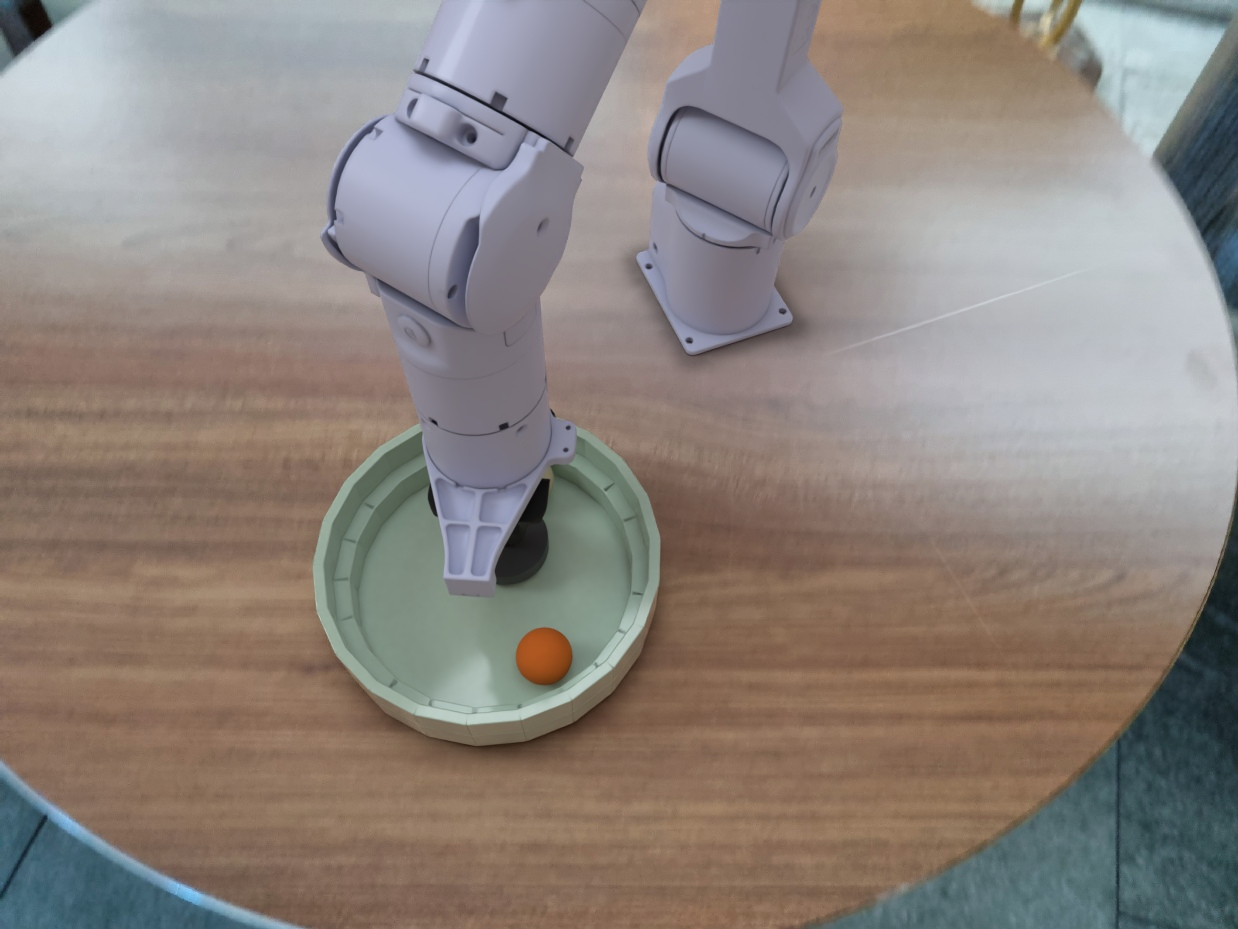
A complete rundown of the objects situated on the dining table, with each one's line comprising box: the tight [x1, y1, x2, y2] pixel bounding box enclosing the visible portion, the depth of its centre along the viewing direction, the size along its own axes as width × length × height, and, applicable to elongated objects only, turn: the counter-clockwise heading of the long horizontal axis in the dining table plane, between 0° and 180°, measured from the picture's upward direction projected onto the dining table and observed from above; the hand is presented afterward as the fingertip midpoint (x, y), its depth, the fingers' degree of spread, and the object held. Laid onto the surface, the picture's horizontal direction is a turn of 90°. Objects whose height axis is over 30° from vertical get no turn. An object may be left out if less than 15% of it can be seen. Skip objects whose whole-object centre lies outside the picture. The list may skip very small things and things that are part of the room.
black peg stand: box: [495, 519, 549, 585], centre depth 50 cm, size 5×5×8 cm
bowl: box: [312, 416, 662, 747], centre depth 51 cm, size 18×18×5 cm
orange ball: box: [516, 627, 573, 685], centre depth 49 cm, size 3×3×3 cm
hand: (505, 522), depth 50 cm, fingers closed on black peg stand
